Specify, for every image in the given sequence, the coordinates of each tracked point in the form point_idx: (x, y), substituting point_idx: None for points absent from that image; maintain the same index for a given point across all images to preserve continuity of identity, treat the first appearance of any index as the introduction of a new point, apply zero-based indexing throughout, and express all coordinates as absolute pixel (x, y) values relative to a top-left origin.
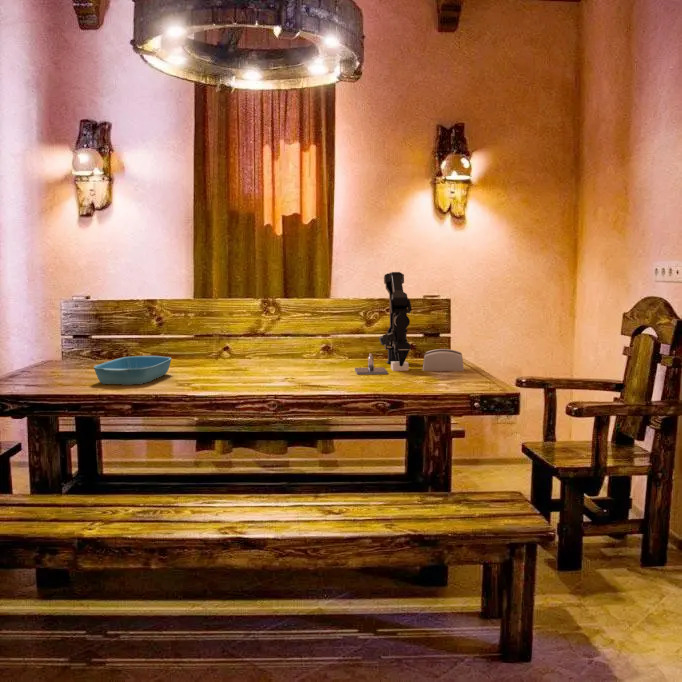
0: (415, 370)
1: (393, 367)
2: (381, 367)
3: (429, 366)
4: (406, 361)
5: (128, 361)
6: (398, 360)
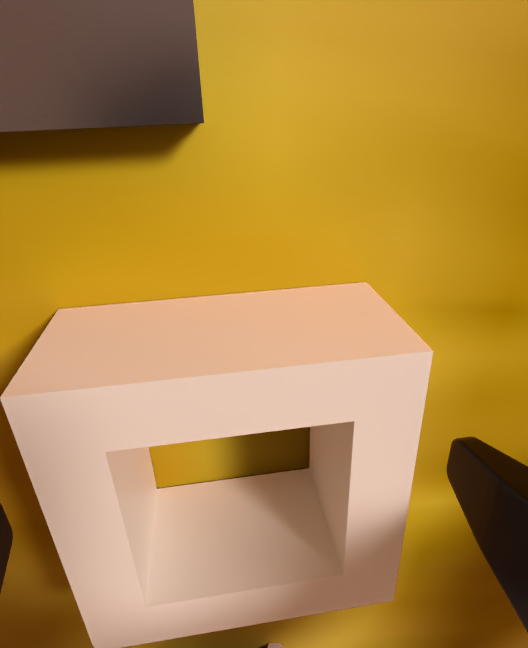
0: None
1: (39, 353)
2: (177, 43)
3: None
4: (352, 606)
5: None
6: (476, 500)
